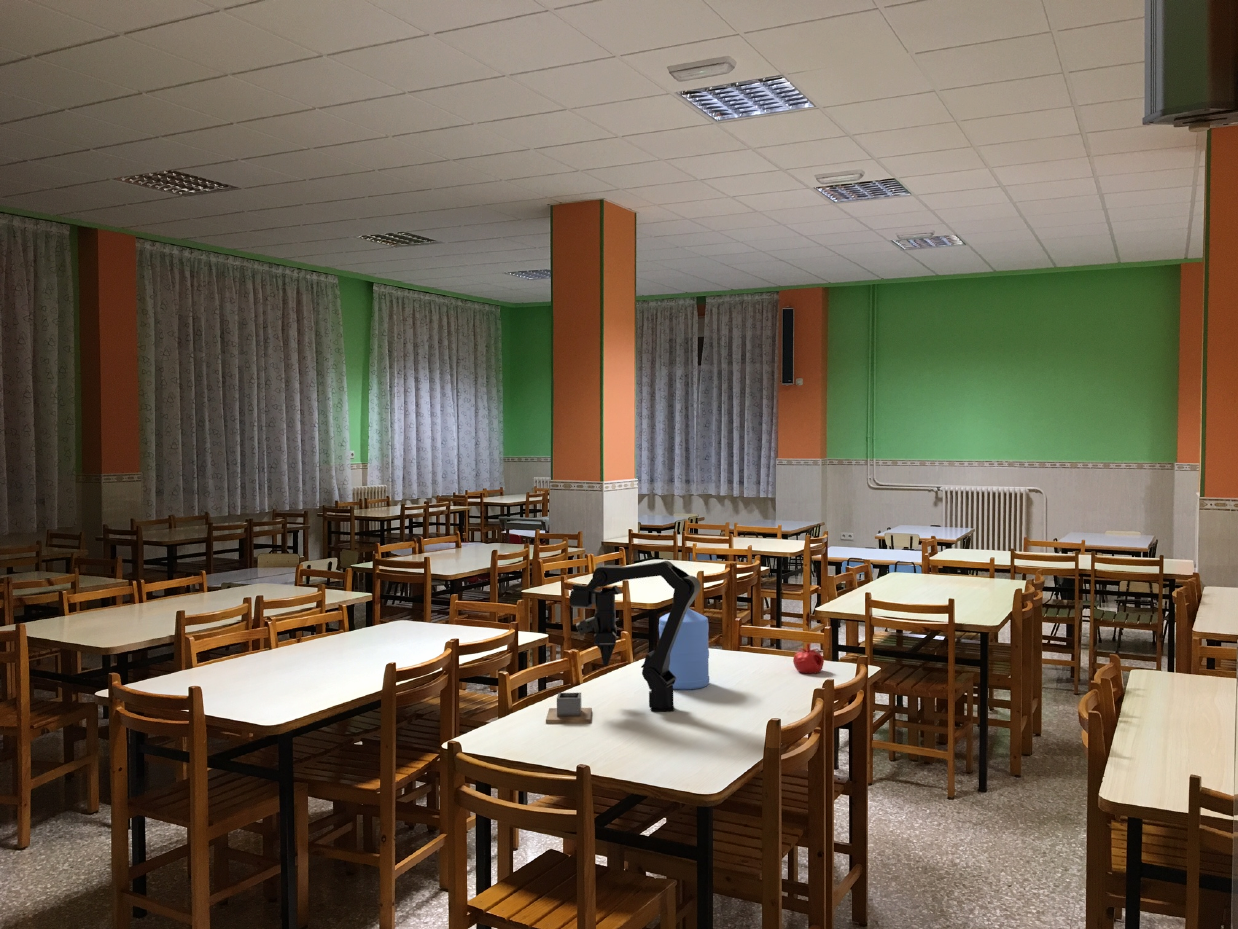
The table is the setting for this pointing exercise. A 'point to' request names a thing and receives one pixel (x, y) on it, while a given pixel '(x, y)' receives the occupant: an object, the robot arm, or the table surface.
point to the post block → (583, 718)
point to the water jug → (689, 651)
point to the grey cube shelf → (569, 705)
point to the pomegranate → (808, 661)
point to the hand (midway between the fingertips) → (605, 662)
